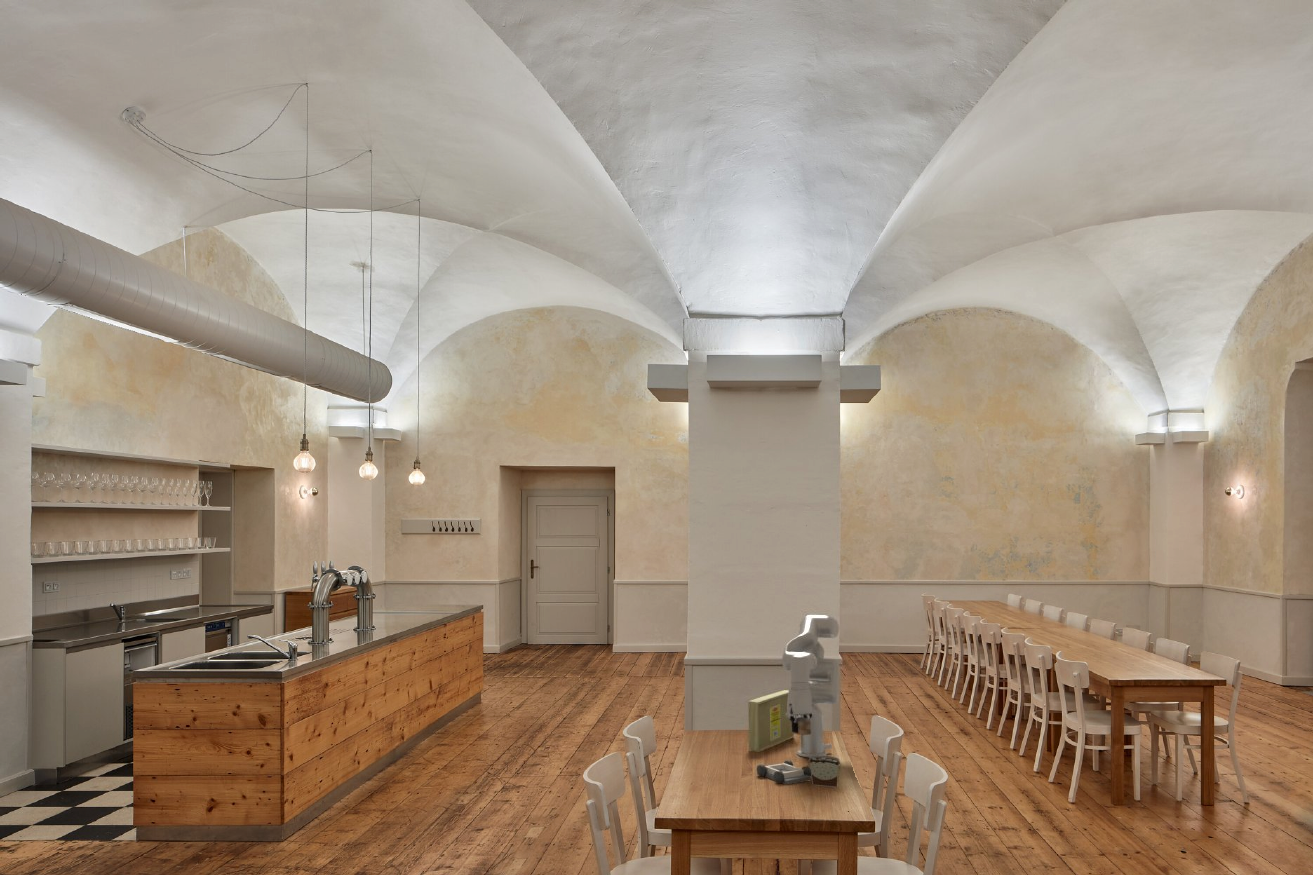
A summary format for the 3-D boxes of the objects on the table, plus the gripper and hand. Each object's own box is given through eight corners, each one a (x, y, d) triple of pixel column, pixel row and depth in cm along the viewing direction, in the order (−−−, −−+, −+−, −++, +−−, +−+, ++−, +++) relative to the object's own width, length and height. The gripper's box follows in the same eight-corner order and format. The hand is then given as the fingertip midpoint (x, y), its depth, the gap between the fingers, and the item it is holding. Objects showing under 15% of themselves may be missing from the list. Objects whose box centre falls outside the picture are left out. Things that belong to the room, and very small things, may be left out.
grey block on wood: (799, 730, 381) (799, 715, 381) (810, 734, 375) (810, 718, 375) (790, 732, 378) (789, 717, 379) (801, 735, 372) (801, 719, 373)
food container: (843, 783, 356) (842, 756, 357) (841, 787, 351) (840, 760, 352) (811, 780, 360) (810, 754, 361) (808, 784, 355) (808, 757, 356)
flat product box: (785, 736, 438) (784, 689, 440) (794, 738, 435) (793, 690, 437) (748, 750, 409) (748, 700, 411) (757, 752, 406) (757, 701, 409)
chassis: (784, 769, 377) (784, 758, 377) (813, 779, 361) (813, 768, 362) (754, 774, 369) (754, 763, 369) (783, 785, 354) (783, 773, 354)
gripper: (809, 683, 386) (810, 727, 384) (777, 686, 377) (778, 732, 375) (822, 685, 380) (822, 731, 378) (789, 688, 371) (790, 735, 369)
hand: (800, 731), depth 376 cm, fingers closed on grey block on wood, 5 cm apart
